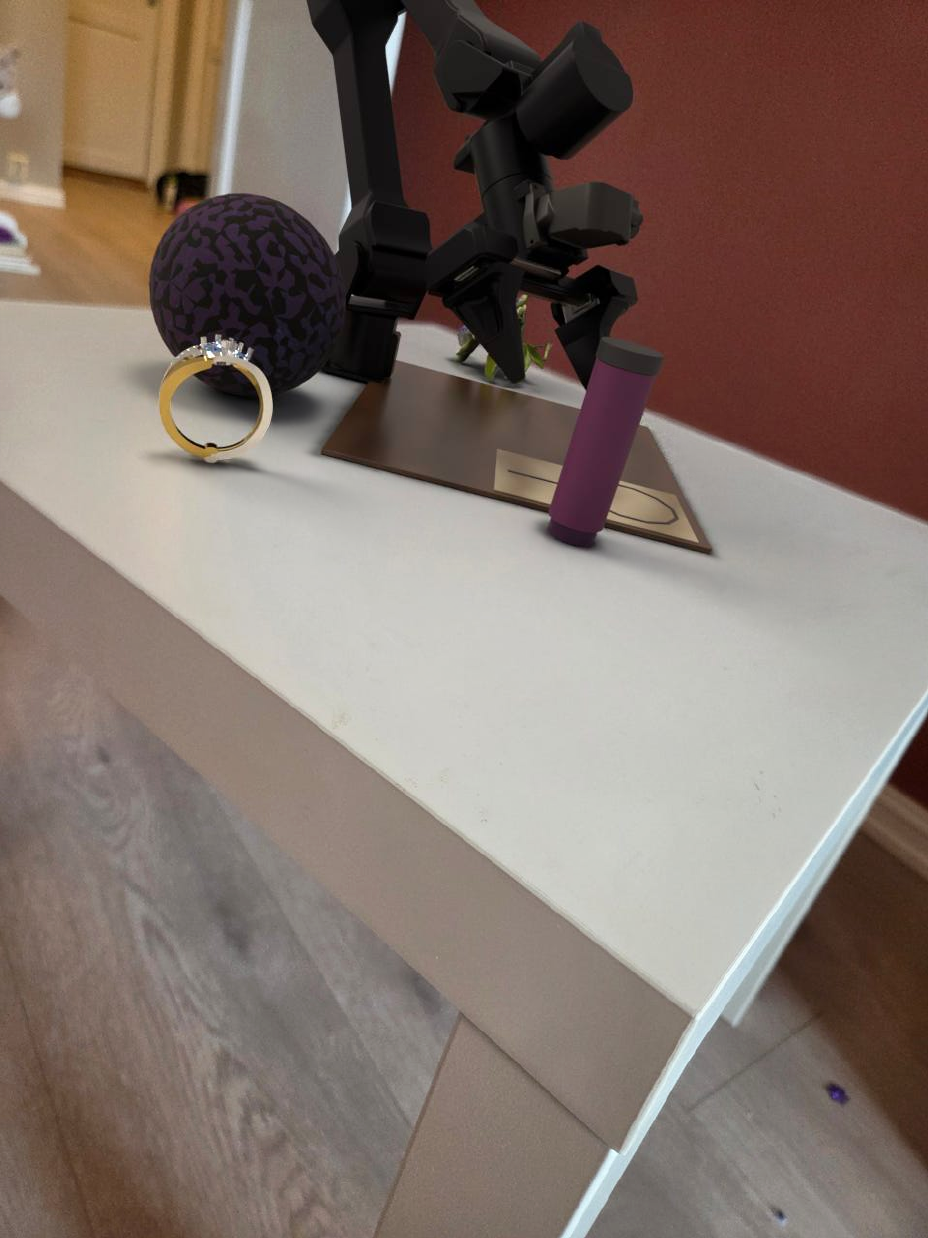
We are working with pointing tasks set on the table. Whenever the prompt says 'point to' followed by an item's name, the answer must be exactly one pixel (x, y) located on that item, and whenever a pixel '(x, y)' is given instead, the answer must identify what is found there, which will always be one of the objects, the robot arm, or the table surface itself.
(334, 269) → the toy ball
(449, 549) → the table surface
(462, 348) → the passion flower
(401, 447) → the board
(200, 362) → the ring
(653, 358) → the dauber
